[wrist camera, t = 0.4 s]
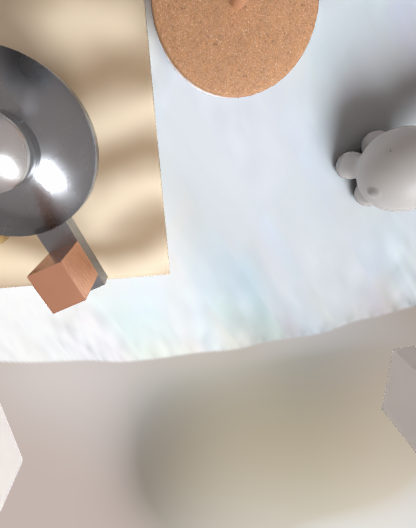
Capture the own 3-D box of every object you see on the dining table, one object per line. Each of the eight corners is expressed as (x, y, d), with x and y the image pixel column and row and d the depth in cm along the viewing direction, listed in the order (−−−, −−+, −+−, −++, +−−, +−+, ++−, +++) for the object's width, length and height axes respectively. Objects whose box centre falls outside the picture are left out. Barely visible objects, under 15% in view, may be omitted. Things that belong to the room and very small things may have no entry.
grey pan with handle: (-132, 94, 21) (-233, 82, 15) (37, 13, 20) (-10, -28, 15) (31, 309, 28) (-2, 351, 22) (160, 254, 27) (157, 284, 22)
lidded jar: (128, 40, 27) (110, -3, 18) (212, -87, 24) (237, -205, 16) (225, 130, 30) (247, 131, 22) (306, 28, 28) (368, -18, 19)
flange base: (-132, -9, 24) (-265, -71, 17) (143, -11, 26) (133, -67, 18) (-28, 284, 33) (-83, 328, 26) (169, 268, 35) (169, 305, 28)
